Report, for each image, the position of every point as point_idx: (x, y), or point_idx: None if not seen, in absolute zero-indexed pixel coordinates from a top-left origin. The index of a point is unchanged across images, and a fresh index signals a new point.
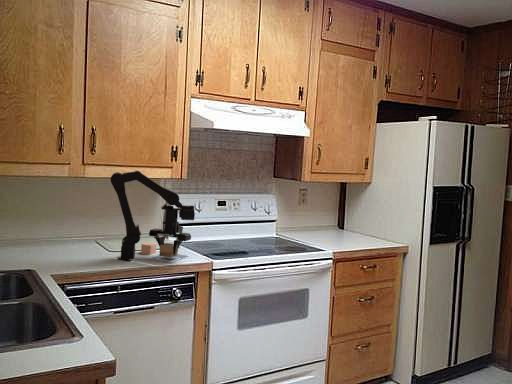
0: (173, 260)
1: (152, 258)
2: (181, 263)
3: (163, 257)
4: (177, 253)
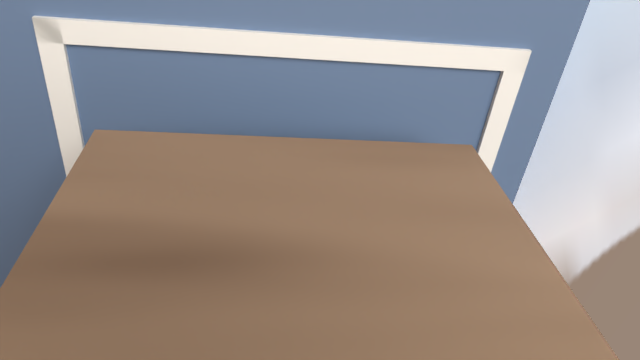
0: None
1: None
2: (560, 244)
3: None
4: (488, 190)
